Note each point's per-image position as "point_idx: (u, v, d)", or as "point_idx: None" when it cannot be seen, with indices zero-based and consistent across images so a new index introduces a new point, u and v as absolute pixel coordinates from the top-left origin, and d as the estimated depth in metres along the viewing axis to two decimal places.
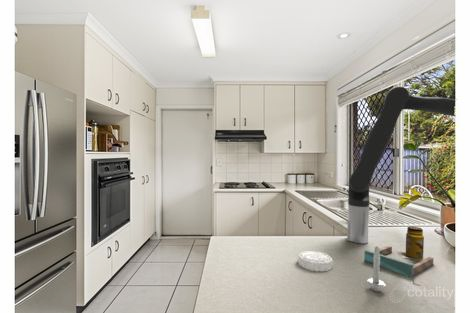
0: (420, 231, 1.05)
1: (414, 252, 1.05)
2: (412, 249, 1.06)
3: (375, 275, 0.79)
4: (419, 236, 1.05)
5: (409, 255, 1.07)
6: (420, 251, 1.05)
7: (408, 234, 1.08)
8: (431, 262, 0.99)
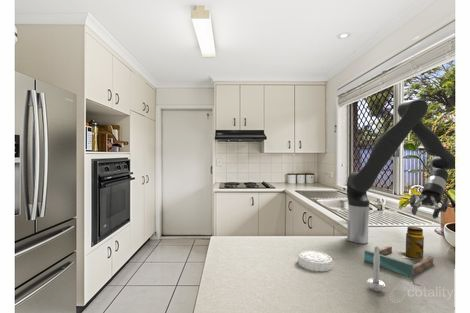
0: (420, 231, 1.05)
1: (414, 252, 1.05)
2: (412, 249, 1.06)
3: (375, 275, 0.79)
4: (419, 236, 1.05)
5: (409, 255, 1.07)
6: (420, 251, 1.05)
7: (408, 234, 1.08)
8: (431, 262, 0.99)
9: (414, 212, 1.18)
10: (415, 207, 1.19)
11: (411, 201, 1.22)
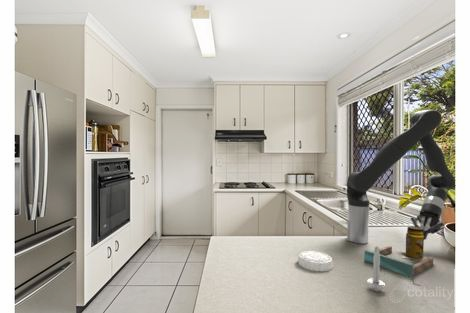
0: (420, 231, 1.05)
1: (414, 252, 1.05)
2: (412, 250, 1.06)
3: (375, 275, 0.79)
4: (419, 236, 1.05)
5: (409, 255, 1.07)
6: (420, 251, 1.05)
7: (408, 234, 1.08)
8: (431, 262, 0.99)
9: None
10: None
11: (416, 225, 1.18)
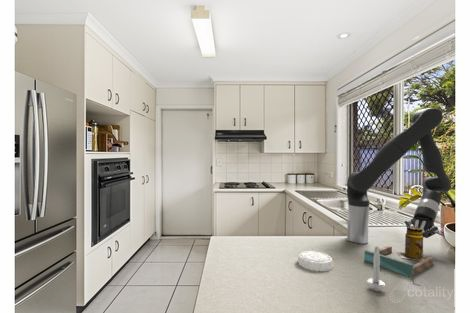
0: (419, 231, 1.05)
1: (413, 252, 1.05)
2: (411, 250, 1.05)
3: (375, 275, 0.79)
4: (418, 237, 1.04)
5: (408, 255, 1.06)
6: (419, 251, 1.04)
7: (407, 234, 1.07)
8: (431, 262, 0.99)
9: None
10: None
11: None
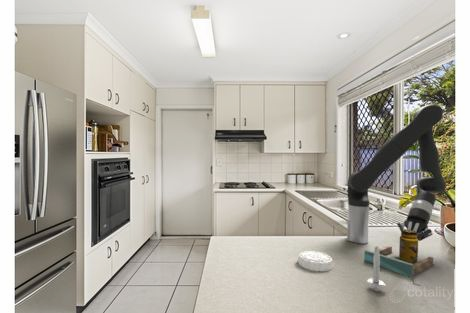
0: (414, 234, 1.00)
1: (408, 256, 1.00)
2: (406, 254, 1.00)
3: (375, 275, 0.79)
4: (413, 240, 1.00)
5: (402, 259, 1.01)
6: (414, 256, 1.00)
7: (402, 237, 1.02)
8: (431, 262, 0.99)
9: None
10: None
11: None
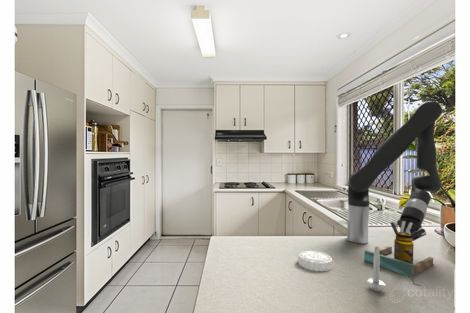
0: (409, 237, 0.96)
1: (403, 260, 0.96)
2: (401, 258, 0.96)
3: (375, 275, 0.79)
4: (408, 243, 0.96)
5: None
6: (409, 259, 0.96)
7: (396, 240, 0.98)
8: (431, 262, 0.99)
9: None
10: None
11: (395, 230, 1.07)
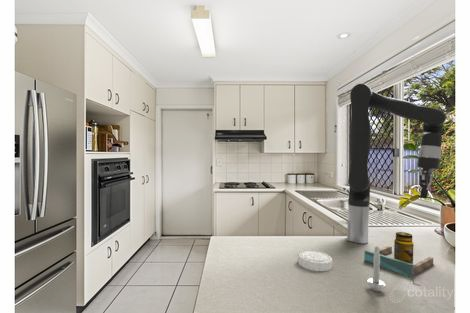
0: (409, 237, 0.96)
1: (403, 260, 0.96)
2: (401, 258, 0.96)
3: (375, 275, 0.79)
4: (408, 243, 0.96)
5: None
6: (409, 259, 0.96)
7: (396, 240, 0.98)
8: (431, 262, 0.99)
9: None
10: (421, 190, 1.12)
11: None
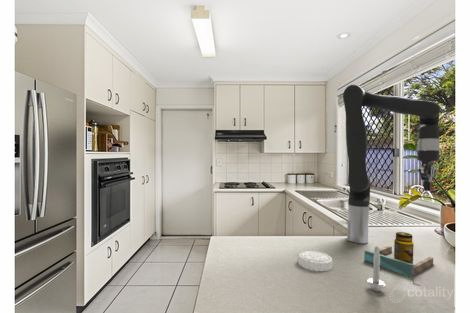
0: (409, 237, 0.96)
1: (403, 260, 0.96)
2: (401, 258, 0.96)
3: (375, 275, 0.79)
4: (408, 243, 0.96)
5: None
6: (409, 259, 0.96)
7: (396, 240, 0.98)
8: (431, 262, 0.99)
9: None
10: (424, 183, 1.13)
11: None
